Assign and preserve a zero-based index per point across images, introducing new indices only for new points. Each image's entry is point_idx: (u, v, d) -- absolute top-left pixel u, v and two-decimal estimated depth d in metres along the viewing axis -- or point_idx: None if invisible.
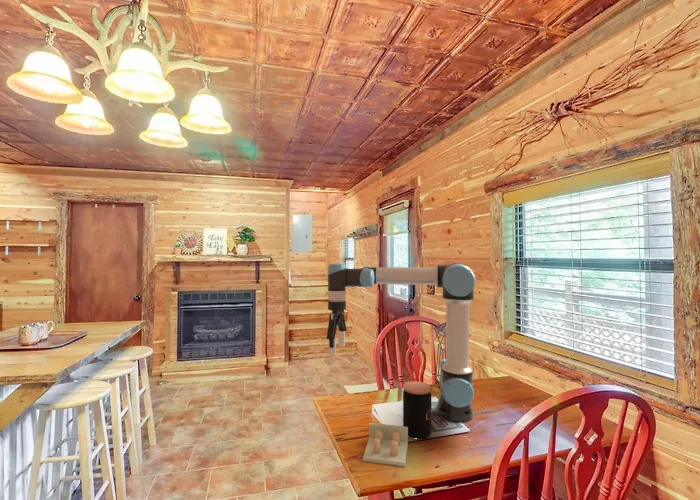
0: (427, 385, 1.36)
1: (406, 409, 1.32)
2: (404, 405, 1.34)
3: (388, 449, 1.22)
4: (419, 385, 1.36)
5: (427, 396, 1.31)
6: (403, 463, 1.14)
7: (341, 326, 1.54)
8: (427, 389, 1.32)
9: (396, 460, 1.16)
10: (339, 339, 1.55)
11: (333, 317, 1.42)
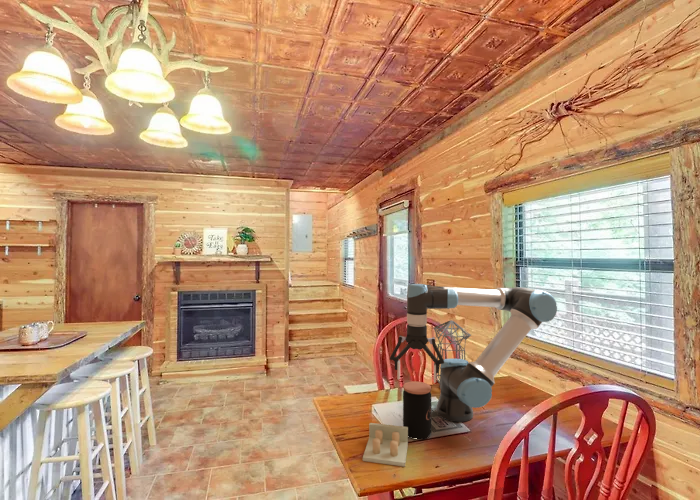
0: (427, 385, 1.36)
1: (406, 409, 1.32)
2: (404, 405, 1.34)
3: (388, 449, 1.22)
4: (419, 385, 1.36)
5: (427, 396, 1.31)
6: (403, 463, 1.14)
7: None
8: (427, 389, 1.32)
9: (396, 460, 1.16)
10: None
11: None
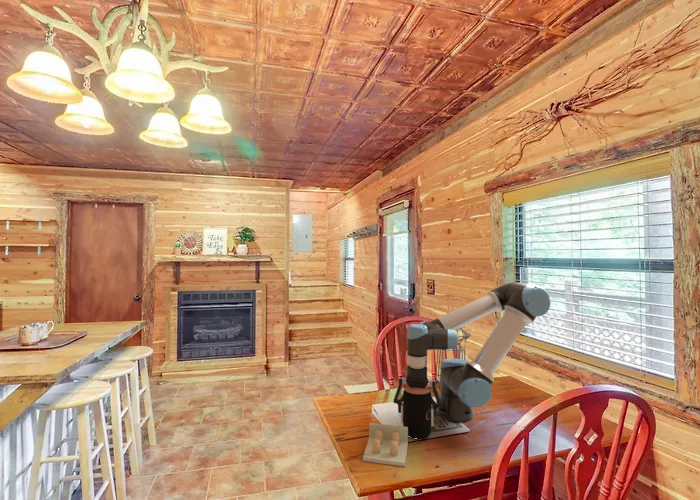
0: (427, 385, 1.36)
1: (406, 409, 1.32)
2: (404, 405, 1.34)
3: (388, 449, 1.22)
4: None
5: (427, 396, 1.31)
6: (403, 463, 1.14)
7: None
8: (427, 389, 1.32)
9: (396, 460, 1.16)
10: None
11: (399, 381, 1.36)
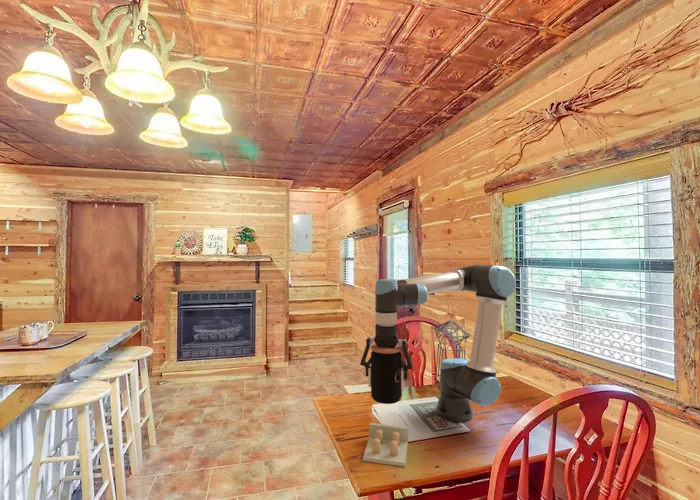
0: (397, 345, 1.24)
1: (373, 371, 1.20)
2: (371, 367, 1.21)
3: (388, 449, 1.22)
4: None
5: (396, 356, 1.19)
6: (403, 463, 1.14)
7: None
8: (396, 349, 1.20)
9: (396, 460, 1.16)
10: None
11: None
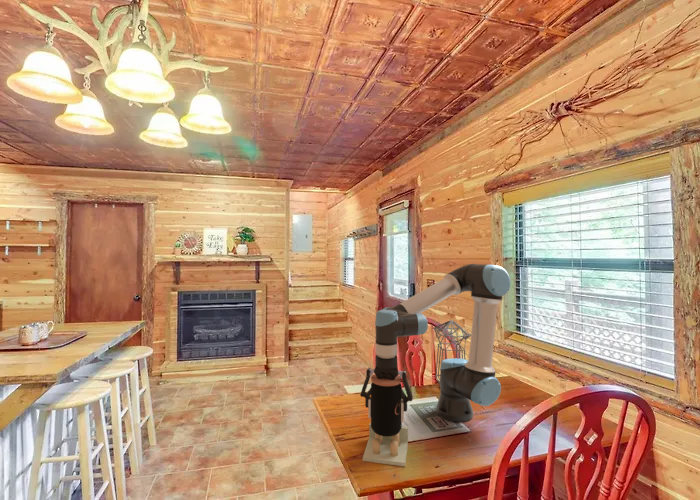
0: (397, 376, 1.24)
1: (373, 403, 1.20)
2: (371, 398, 1.21)
3: (388, 449, 1.22)
4: None
5: (396, 388, 1.19)
6: (403, 463, 1.14)
7: None
8: (396, 381, 1.20)
9: (396, 460, 1.16)
10: None
11: None
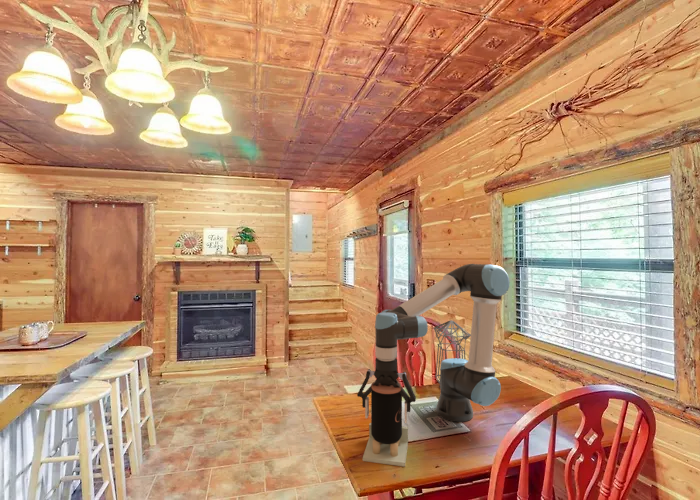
0: None
1: (374, 410, 1.20)
2: (372, 406, 1.21)
3: (388, 449, 1.22)
4: None
5: (396, 396, 1.19)
6: (403, 463, 1.14)
7: None
8: (397, 388, 1.20)
9: (396, 460, 1.16)
10: None
11: (366, 374, 1.24)
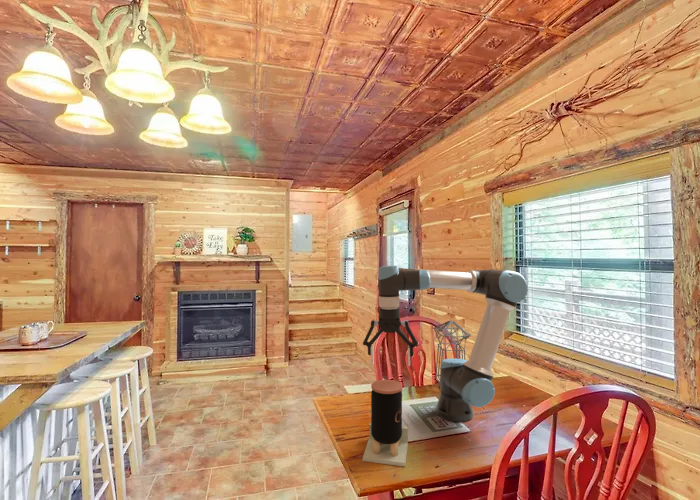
0: (398, 384, 1.24)
1: (374, 410, 1.20)
2: (372, 406, 1.21)
3: (388, 449, 1.22)
4: (389, 384, 1.23)
5: (396, 396, 1.19)
6: (403, 463, 1.14)
7: None
8: (397, 388, 1.20)
9: (396, 460, 1.16)
10: None
11: (371, 323, 1.31)
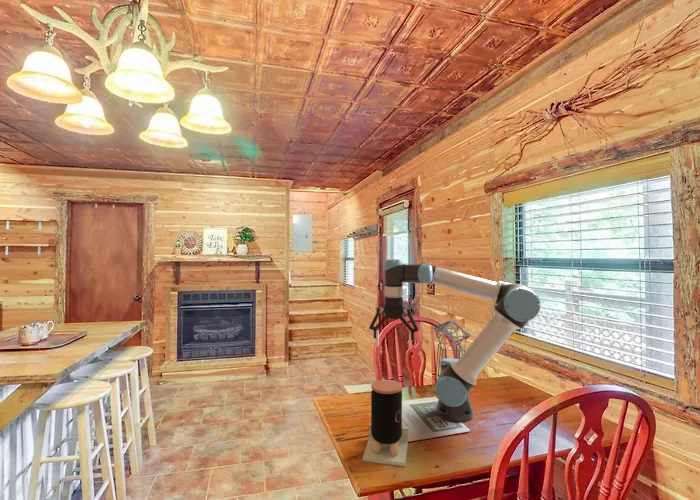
0: (398, 384, 1.24)
1: (374, 410, 1.20)
2: (372, 406, 1.21)
3: (388, 449, 1.22)
4: (389, 384, 1.23)
5: (396, 396, 1.19)
6: (403, 463, 1.14)
7: None
8: (397, 388, 1.20)
9: (396, 460, 1.16)
10: None
11: (377, 310, 1.48)
